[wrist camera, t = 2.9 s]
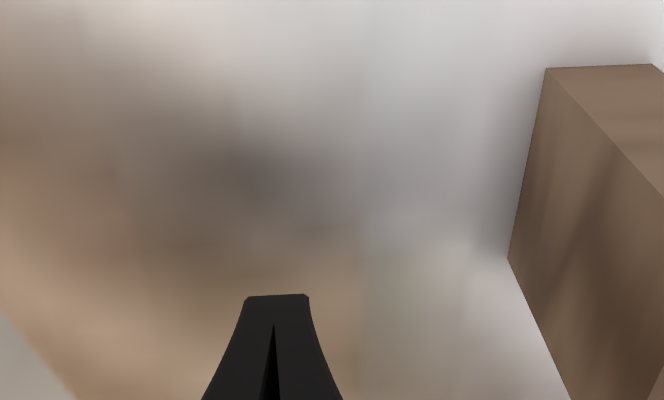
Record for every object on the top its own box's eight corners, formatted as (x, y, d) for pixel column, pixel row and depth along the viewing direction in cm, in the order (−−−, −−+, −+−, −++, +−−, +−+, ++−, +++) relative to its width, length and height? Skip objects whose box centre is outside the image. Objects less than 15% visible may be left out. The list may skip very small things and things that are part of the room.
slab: (591, 253, 20) (732, 473, 14) (506, 258, 20) (608, 480, 14) (651, 63, 16) (891, 246, 10) (545, 67, 16) (716, 255, 10)
